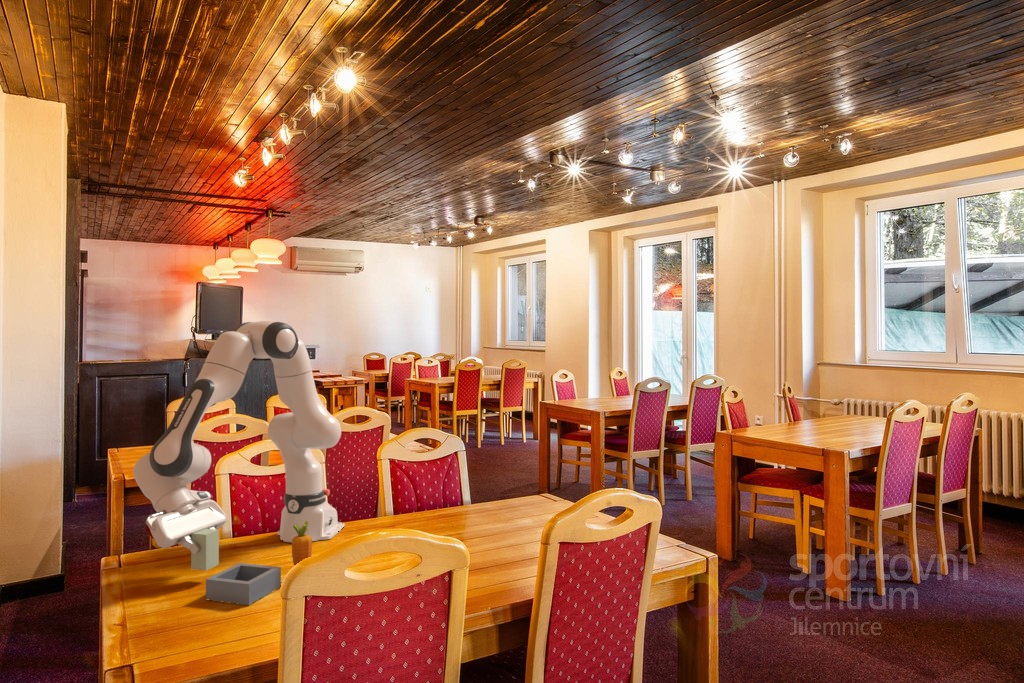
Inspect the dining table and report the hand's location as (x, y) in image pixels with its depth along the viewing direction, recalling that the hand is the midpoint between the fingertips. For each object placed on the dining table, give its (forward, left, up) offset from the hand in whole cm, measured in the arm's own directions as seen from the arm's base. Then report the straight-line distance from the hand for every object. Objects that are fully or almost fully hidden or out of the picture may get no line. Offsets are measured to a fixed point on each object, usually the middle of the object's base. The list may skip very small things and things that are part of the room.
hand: (207, 548), depth 164 cm
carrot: (-8, +22, -9) cm, 25 cm away
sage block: (0, -1, -5) cm, 5 cm away
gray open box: (+4, +14, -9) cm, 17 cm away
